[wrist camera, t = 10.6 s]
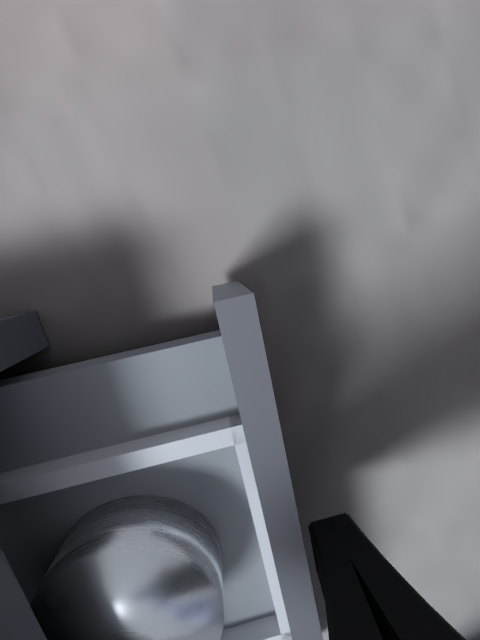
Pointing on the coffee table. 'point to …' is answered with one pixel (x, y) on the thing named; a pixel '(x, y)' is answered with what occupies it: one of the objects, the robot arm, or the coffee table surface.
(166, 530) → the silver disc
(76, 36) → the coffee table surface
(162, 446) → the tray
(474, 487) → the coffee table surface
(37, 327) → the player housing
